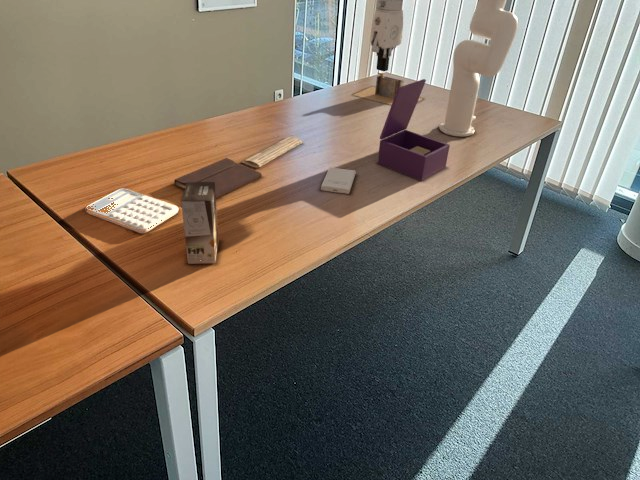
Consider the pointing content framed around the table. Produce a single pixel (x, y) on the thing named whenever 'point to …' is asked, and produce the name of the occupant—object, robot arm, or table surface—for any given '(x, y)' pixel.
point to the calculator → (134, 210)
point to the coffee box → (200, 222)
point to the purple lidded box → (413, 154)
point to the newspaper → (272, 152)
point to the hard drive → (338, 180)
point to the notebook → (221, 176)
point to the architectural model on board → (383, 90)
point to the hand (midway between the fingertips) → (382, 69)
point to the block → (420, 150)
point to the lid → (402, 108)
